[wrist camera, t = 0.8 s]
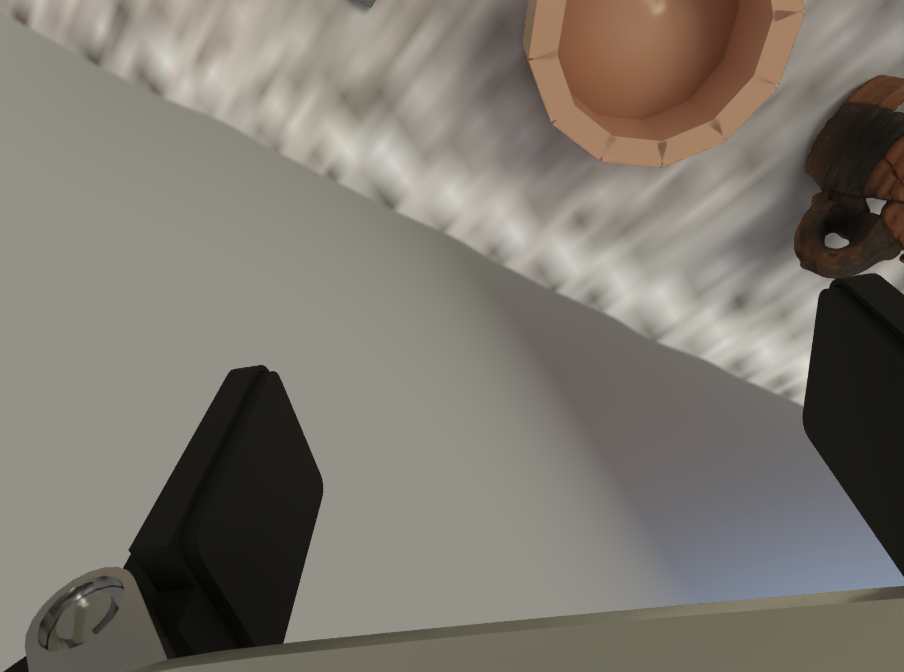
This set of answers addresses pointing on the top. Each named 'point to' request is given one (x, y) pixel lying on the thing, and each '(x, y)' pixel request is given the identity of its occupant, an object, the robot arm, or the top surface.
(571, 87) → the bowl
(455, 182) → the top surface
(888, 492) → the robot arm
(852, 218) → the pottery mug
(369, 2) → the mat
